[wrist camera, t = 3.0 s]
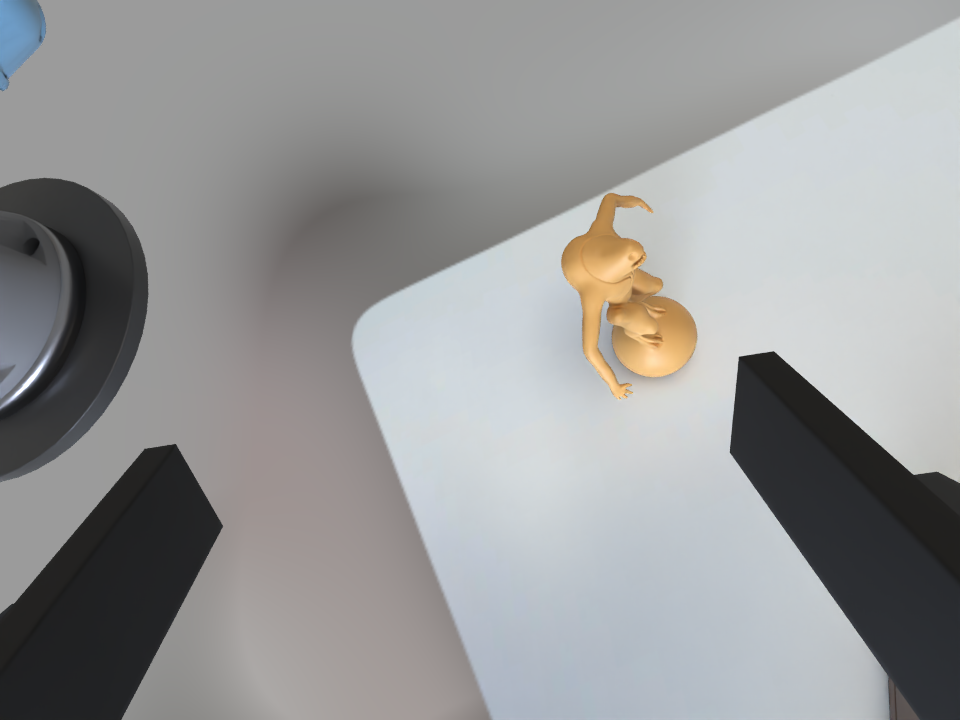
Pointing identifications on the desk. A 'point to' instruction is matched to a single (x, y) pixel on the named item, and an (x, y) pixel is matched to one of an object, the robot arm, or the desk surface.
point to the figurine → (625, 301)
